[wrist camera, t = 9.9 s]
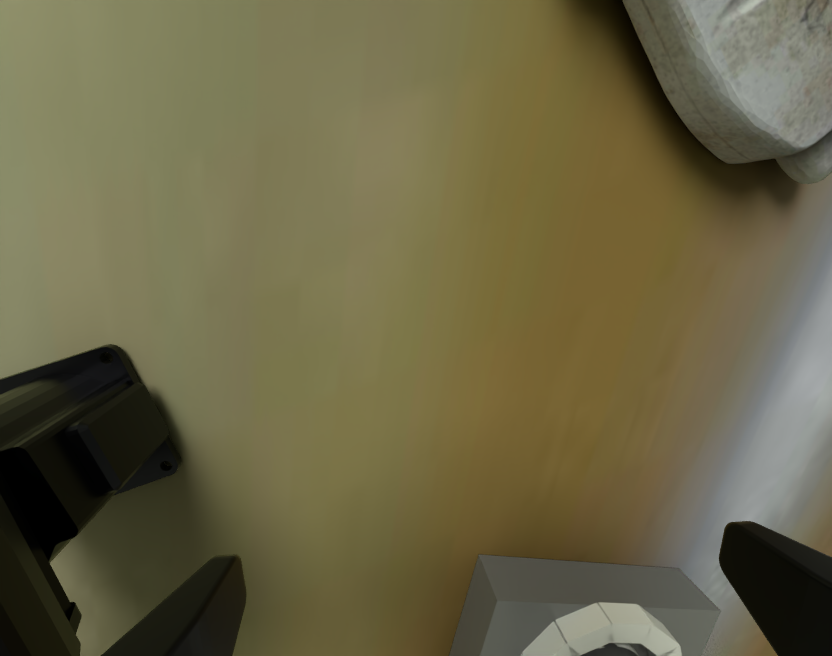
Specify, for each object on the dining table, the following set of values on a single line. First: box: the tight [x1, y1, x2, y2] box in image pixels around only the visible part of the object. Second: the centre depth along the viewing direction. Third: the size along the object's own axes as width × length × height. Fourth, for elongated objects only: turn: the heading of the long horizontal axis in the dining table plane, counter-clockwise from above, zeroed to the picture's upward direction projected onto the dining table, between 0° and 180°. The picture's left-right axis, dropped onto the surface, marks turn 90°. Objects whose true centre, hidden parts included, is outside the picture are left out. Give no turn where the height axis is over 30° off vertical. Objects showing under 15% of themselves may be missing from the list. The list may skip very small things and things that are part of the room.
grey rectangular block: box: [449, 555, 721, 656], centre depth 23 cm, size 14×9×4 cm
